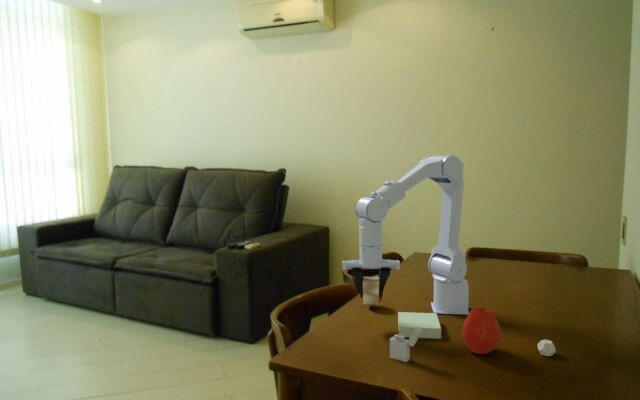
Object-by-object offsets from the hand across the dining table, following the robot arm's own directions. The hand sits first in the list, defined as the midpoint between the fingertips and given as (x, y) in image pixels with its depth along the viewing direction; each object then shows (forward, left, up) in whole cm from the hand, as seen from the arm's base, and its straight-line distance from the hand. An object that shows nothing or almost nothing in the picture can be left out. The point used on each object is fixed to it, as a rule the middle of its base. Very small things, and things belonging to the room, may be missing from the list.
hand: (371, 296), depth 114 cm
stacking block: (-12, 0, -9) cm, 15 cm away
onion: (0, -15, -9) cm, 17 cm away
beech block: (0, 0, -1) cm, 1 cm away
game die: (-39, +11, -9) cm, 41 cm away
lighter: (-8, +17, -9) cm, 21 cm away
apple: (-25, +11, -9) cm, 29 cm away
